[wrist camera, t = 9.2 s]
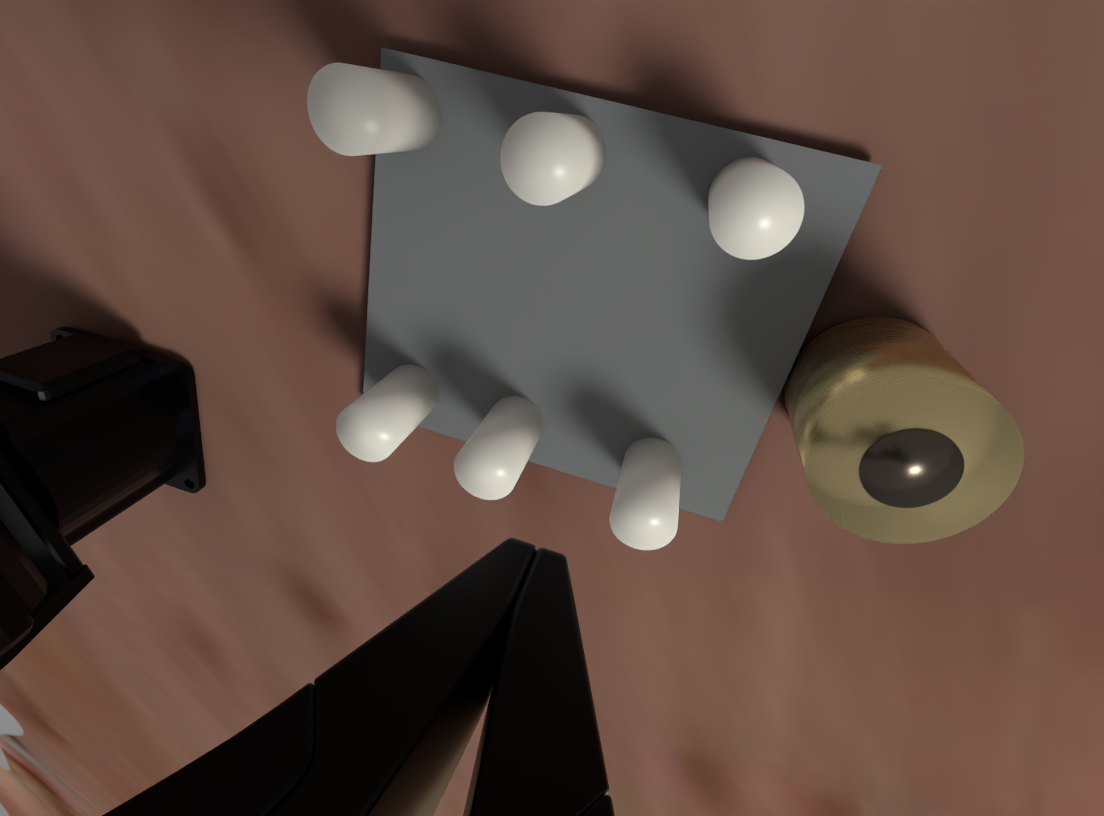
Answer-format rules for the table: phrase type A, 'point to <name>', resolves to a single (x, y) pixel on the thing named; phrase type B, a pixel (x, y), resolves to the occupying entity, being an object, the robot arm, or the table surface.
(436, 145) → the mat
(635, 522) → the spacers
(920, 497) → the knob
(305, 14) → the table surface
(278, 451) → the table surface
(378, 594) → the table surface
